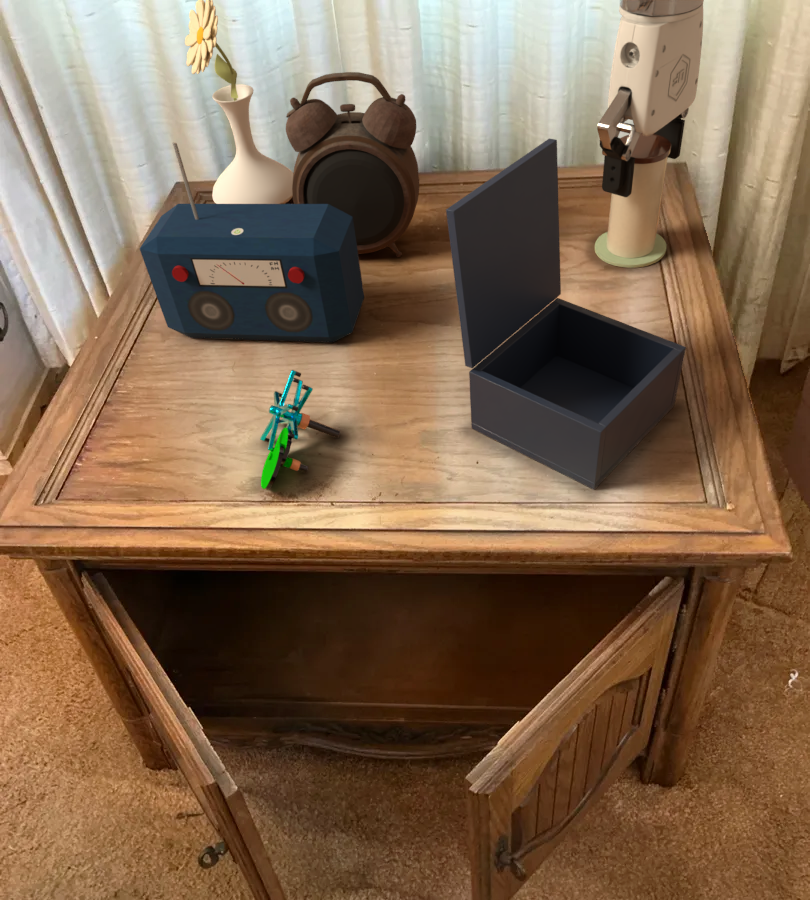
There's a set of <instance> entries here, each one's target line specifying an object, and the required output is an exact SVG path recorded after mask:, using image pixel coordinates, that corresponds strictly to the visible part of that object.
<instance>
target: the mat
mask: <svg viewBox="0 0 810 900" xmlns="http://www.w3.org/2000/svg"><path fill="white" fill-rule="evenodd" d="M607 232H608V231H605V232H604V233H602V234H600V235H599V236H598V237H597V239H595V240H596V241H595V243H594V252H595V254H596V256H597V257H598V258H599V260H601V261H603V262H604V263H606V264H609V265H611V266H615V267H618V268H627V269H634V268H635V269H636V268H643V267H648V266H651V265H653V264H655V263H657V262H659V261H661V260H662V259H663V257H664V256H665V255H666V252H667V242H666V240H665V239H664V238H663V237H662V236H661V235H660V234H659V233H656V240H655V247H654V249H653V251H652V252H651V253H649V254H648V255H645V256H643V257H638V258H623V257H619V256H616V255H614V254H612V253H611V252H609V250H608V249H607V247H606V242H607Z"/></svg>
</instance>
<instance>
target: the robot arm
mask: <svg viewBox="0 0 810 900" xmlns="http://www.w3.org/2000/svg"><path fill="white" fill-rule="evenodd" d="M704 2H705V1H704V0H619V9H618V12H619V14H620V15H621V16H620V20H619V25H618V29H617V34H616V40H615V45H614V51H613V56H612V64H611V70H610V79H609V86H608V97H607V98H608V99H607V109H606V110H605V112H604V114H602V116H601V118H600V120H599V121H598V122H597V128H596V129H597V133H598V138H599V147H600V149H601V154H602V155H603V156H604V158H603V170H602V171H603V172H602V180H601V181H602V184H601V189H602V191H603V192H605V193H608V194H611V193H612V194H615V195H619V196H622V197H628V196H629V195H631V192H632V183H633V174H634V165H635V158H634V157H631V155H632V153H633V151H634V148H635V146H636V143H637V141H638V139H639V136H640V134H641V133H642V134H643V135H644V136H650V135H652V134H656V135H660V136H663V137H665V138H666V139H668V140H669V141H670V143H671V152H670V154H669V156H668V159H672V160H676V159H678V158H679V157H680V155H681V149H682V143H683V138H684V137H683V135H684V129H685V124H686V120H685V119H686V117H687V116H688V114H689V108H690V107H691V106H692V104H693V103H694V102H695V99H696V95H697V91H698V89H697V88H698V83H699V74H700V66H701V58H702V47H703V36H704V35H703V32H704ZM628 120H630V121H632V123H628V122H627V121H628ZM620 133H626V134H628V135H629V137H628V139H627V142H626V144H625V145H624V143H623V142H622V140H621V139H620V138H621V137H619V136H620Z"/></svg>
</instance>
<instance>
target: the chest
mask: <svg viewBox="0 0 810 900" xmlns="http://www.w3.org/2000/svg"><path fill="white" fill-rule="evenodd" d="M686 349H687V346H685V345H682V344H679V343H676V342H674V341H671V340H669V339H666V338H664V337H661V336H658V335H655V334H653V333H650V332H648V331H646V330H644V329H643V330H642V329H640V328H638V327H635V326H632V325H629V324H627V323H624V322H622V321H619V320H618V319H615V318H611V317H609V316H606V315H604V314H601V313H598V312H596V311H594V310H591V309H588V308H586V307H583V306H579V305H578V304H575V303H572V302H571V301H567V300H564V299H561V298H558V297H557V298H556V299H554V300H553V301H552V302H551V303H550V304H549V305H547V306H546V307H545V308H544V309H543V310H541V311H540V312H539V313H538V314H537V315H535V316H534V317H533V318H532V319H531V320H529V321H528V322H527V323H526V324H525V325H523V326H522V327H521V328H520V329H519V330H518V331H516V332H515V333H514V334H513V335H512V336H510V337H509V338H508V339H507V340H506V341H504V342H503V343H502V344H501V345H500V346H498V347H497V348H496V349H495V350H494V351H492V352H491V353H490V354H489V355H488V356H487V357H485V358H484V359H483V360H482V361H481V362H479V363H478V364H477V365H476V366H475V367H473V368H471V369H470V370H469V371H468V377H469V378H468V379H469V398H470V399H469V400H470V422H471V424H470V425H471V430H473V431H476V432H477V433H479V434H482V435H484V436H486V437H488V438H490V439H492V440H494V441H496V442H497V443H500V444H502V445H504V446H505V447H508V448H509V449H512V450H514V451H515V452H517V453H519V454H522V455H524V456H526V457H528V458H529V459H531V460H534V461H535V462H538V463H540V464H542V465H543V466H546V467H547V468H549V469H552V470H553V471H555V472H557V473H560V474H562V475H564V476H565V477H567V478H570V479H572V480H573V481H576V482H578V483H579V484H581V485H584V486H586V487H588V488H589V489H591V490H596V489H597V488H598V487H599V486H600V485H601V483H603V481H604V480H605V479H606V478H607V477H608V476H609V475H610V474H611V473H612V472H613V471H614V470H615V469H616V468H617V467H618V466H619V465H620V464H621V463H622V461H624V459H625V458H626V457H628V455H629V454H630V453H631V452H632V451H633V450H634V449H635V448H636V447H637V446H638V445H639V444H640V443H641V442H642V440H643V439H645V437H646V436H647V435H649V433H650V432H651V431H652V430H653V429H654V428H655V427H656V426H657V425H658V424H659V423H660V422H661V421H662V420H663V419H664V417H665V416H666V415H667V414H668V413H669V412H670V411H671V410H672V409H673V408H674V407H675V405H676V400H677V395H678V391H679V390H678V389H679V385H680V379H681V374H682V370H683V364H684V360H685V354H686Z"/></svg>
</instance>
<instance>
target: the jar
mask: <svg viewBox="0 0 810 900" xmlns="http://www.w3.org/2000/svg"><path fill="white" fill-rule="evenodd" d="M628 137H629V134H626V135H624V136H621V137H619V138H620V139H621V140H622V142H623V143H624V145H625V144H626V142H627V139H628ZM670 152H671V143H670V141H669V140H668V139H666V138H665V137H663V136H660V135H656V134H652V135H650V136H644V135H643V134H642V133H641V134H640V136H639V139H638V141H637V143H636V146H635V148H634V151H633V153H632V155H631V157H634V158H635V165H634V174H633V183H632V192H631V195H629V196H628V197H622V196H619V195H615V194H612V193H610V201H609V203H610V204H609V213H608V214H609V215H608V223H607V231H606V232H607V242H606V247H607V249H608V250H609V252H611V253H612V254H614V255H616V256H619V257H623V258H638V257H643V256H645V255H648V254H649V253H651V252H652V251H653V249H654V247H655V240H656V233H657V232H658V225H659V219H660V211H661V206H662V199H663V198H662V197H663V191H664V185H665V177H666V172H667V166H668V165H667V164H668V159H669V158H668V156H669V154H670ZM657 234H658V233H657Z"/></svg>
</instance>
